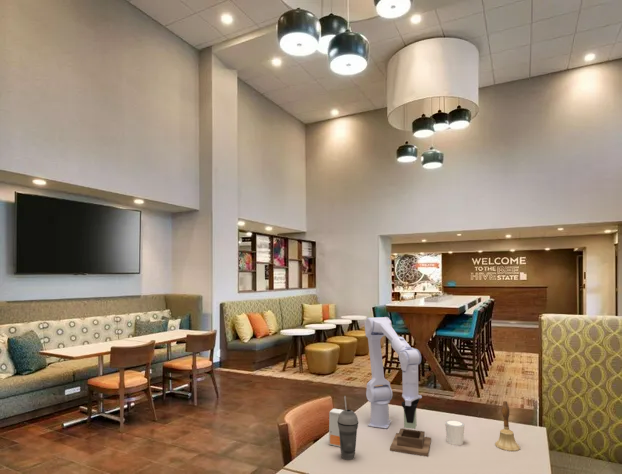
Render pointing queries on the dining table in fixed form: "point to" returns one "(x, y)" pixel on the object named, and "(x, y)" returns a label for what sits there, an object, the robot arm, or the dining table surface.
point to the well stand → (411, 442)
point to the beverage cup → (347, 432)
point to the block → (410, 425)
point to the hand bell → (506, 433)
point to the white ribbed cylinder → (454, 432)
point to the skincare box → (334, 427)
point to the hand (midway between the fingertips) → (410, 420)
